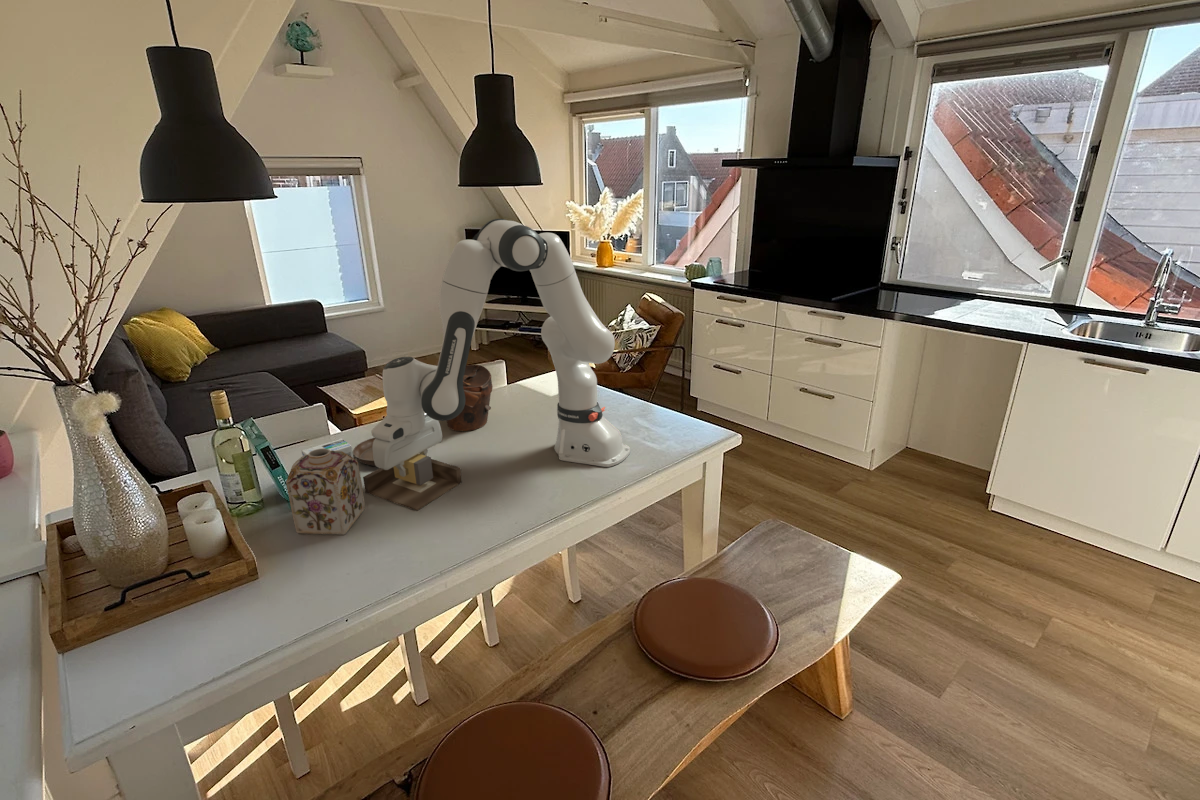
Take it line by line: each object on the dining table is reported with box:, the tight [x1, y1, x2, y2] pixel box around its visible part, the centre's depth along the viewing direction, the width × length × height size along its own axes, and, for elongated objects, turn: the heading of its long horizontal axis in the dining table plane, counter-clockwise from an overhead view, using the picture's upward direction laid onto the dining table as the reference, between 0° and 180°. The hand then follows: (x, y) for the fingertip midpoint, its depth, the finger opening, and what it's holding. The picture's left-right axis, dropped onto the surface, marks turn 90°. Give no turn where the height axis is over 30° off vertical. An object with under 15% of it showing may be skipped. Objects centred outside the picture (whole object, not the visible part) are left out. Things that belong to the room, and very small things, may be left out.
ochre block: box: [394, 454, 433, 486], centre depth 155 cm, size 4×9×6 cm, turn 61°
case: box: [445, 364, 493, 432], centre depth 192 cm, size 18×20×18 cm
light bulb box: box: [301, 438, 354, 458], centre depth 156 cm, size 11×7×11 cm, turn 135°
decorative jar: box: [285, 448, 366, 536], centre depth 138 cm, size 12×12×18 cm
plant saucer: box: [352, 437, 377, 467], centre depth 173 cm, size 18×18×3 cm
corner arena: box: [362, 458, 463, 511], centre depth 155 cm, size 18×16×4 cm
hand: (412, 470), depth 155 cm, fingers closed on ochre block, 4 cm apart
